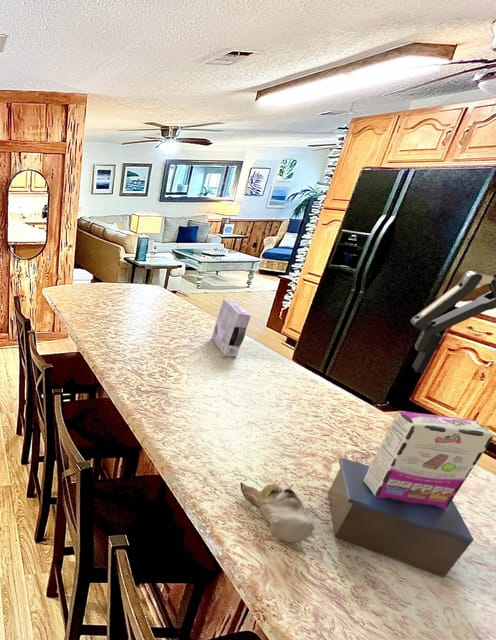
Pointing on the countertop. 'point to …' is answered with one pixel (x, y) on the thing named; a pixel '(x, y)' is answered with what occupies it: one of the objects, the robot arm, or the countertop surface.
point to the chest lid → (401, 505)
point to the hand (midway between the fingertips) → (474, 380)
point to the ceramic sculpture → (280, 511)
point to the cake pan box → (230, 327)
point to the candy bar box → (426, 458)
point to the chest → (392, 534)
